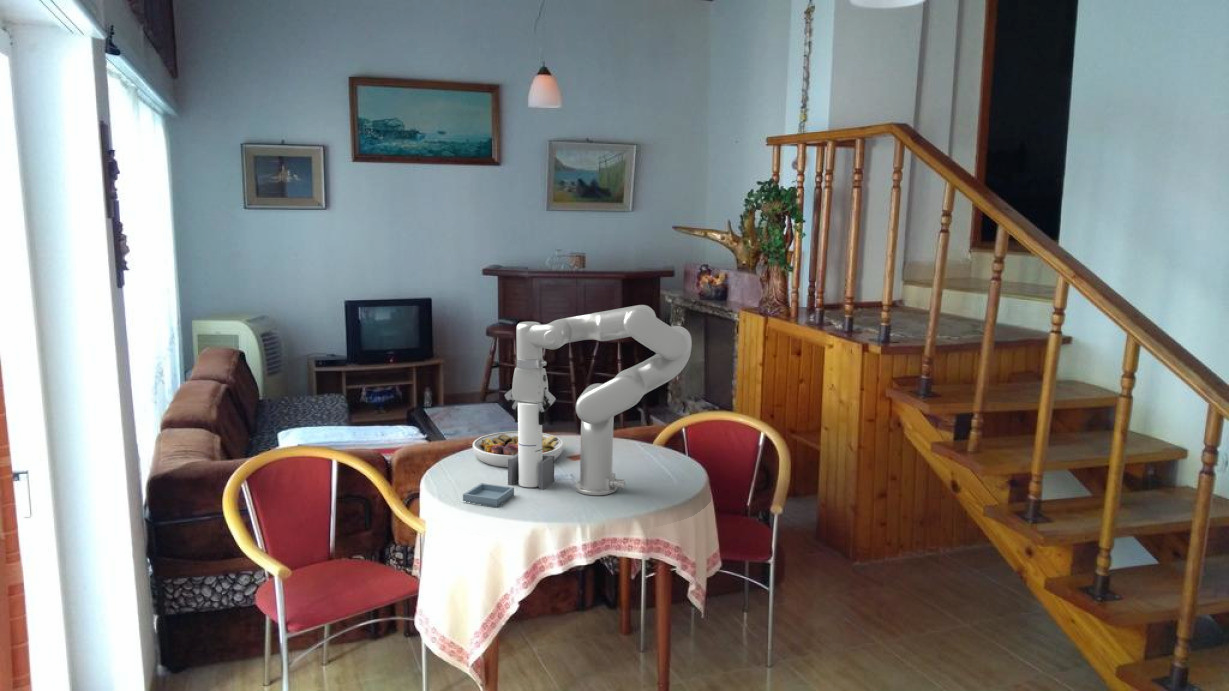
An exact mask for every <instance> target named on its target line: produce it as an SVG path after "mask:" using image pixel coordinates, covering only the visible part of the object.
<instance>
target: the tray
mask: <svg viewBox="0 0 1229 691" xmlns="http://www.w3.org/2000/svg"><path fill="white" fill-rule="evenodd" d="M514 496H515V487H512V486H503V485H498V484H497V485H496V484H491V483H490V484H489V483H479V484H478V485H476V486H474V487H472V488H471V489H469V490H468V491H466V492H465V493H462V502H463V501H466V502H470V503H475V504H474V505H476V504H481V505H480V506H483V505H486V506H485V507H489V506H491V508H496V507H497V508H498V507H500V506H501V505H503V504H504V503H506V502H507V501H508V500H510V499H511V498H513V497H514ZM502 503H503V504H502Z"/></svg>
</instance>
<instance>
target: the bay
mask: <svg viewBox="0 0 1229 691" xmlns="http://www.w3.org/2000/svg"><path fill="white" fill-rule="evenodd" d="M517 482H519V466H518V453H517V454H516V455H514V456H512V457H511V458H509V459H508V467H507V486H513V485H514V484H516V483H517ZM554 482H555V460H554V456H551V455H543V454H542V461H541V462H540V463H539V486H538V490H540V491H541V490H544V489H546V488H547V487H548V486H550V485H551V484H553V483H554Z"/></svg>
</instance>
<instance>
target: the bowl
mask: <svg viewBox="0 0 1229 691" xmlns="http://www.w3.org/2000/svg"><path fill="white" fill-rule="evenodd" d="M563 450H564V441H563V440H562V439H561V438H560V437H558V436H555V435H554V434H548V433H546V432H545V433H544V432H542V454H543V455H551V456H554V461H555V460H556V459H558V457H560V456H561V454H562V453H563ZM472 451H473V454H474V455H475V457H476V458H477V459H479V460H480V461H481V462H483V463H484V464H488V465H489V466H493V467H499V468H508V459H509V458H511V457H512V456H514V455H516V454H517V453H518V430H516V431H502V432H495V433H490V434H486V435H483V436H480V437H478V438H477V439H475V440H474V441H473V442H472Z"/></svg>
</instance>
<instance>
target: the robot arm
mask: <svg viewBox="0 0 1229 691" xmlns="http://www.w3.org/2000/svg"><path fill="white" fill-rule="evenodd" d="M515 333H516V367H515V368H514V372H513V377H512V385H511V386H512V388H511V389H509V390H508V391H506V393H505V394H504V397H505V399H506V401H508V404H509V405H510V406H511V409H513V419H514V422H515V423H517V424H518V402H529V403H537V404H538V406H539V408H540V412H539V425H542V426H543V425H544V424H546V422H547V411H548V409H550V407H551V406H552V405H553V404H554V403H555V401H556V400H557V399H556V397H555V396H554V395H553V394H552V393H551V392H550V391H549V382H548V376H547V371H546V368H543V367H545V366H547V363H548V362H547V360H544V358H543V349H548V350H557V349H559V348H561V347H562V346H564V345H565V344H568V343H575V342H579V341H587V340H596V341H599V342H607V341H612V340H614V341H615V340H619V339H625V338H629V337H630V338H633V339H634V340H635V341H637V342H638V343H640V344H641V345H643V346H644V347H646V349H647V348H648V349H649V350H650V351H653V352H654V353H655V354H654V355H653V356H651V357H649V358H647V359H645V360H644V361H642V362H639V363H638V364H635V365H633V366H631V367H629V368H627V369H624V370H622V371H620V372H618V373H617V374H616V375H615V377H614V378H611V379H610V380H608V381H606V382H604V383H593V384H590V385H589V386H587V387H586V388H585V389H584V390H583V392H582V393H581V394H580V395H579V397H578V398H577V400H576V403H575V413H576V414H577V417H578V419H580V420H581V421H580V452H579V453H580V458H579V459H580V463H579V464H580V465H579V471H580V472H579V473H580V474H579V476H580V477H579V481H577V482H575V484H574V489H575V491H576V492H578V493H579V494H583V495H587V496H605V495H606V496H607V495H610V494H612V493H615V492H616V491H617V490H618V488H621V489H624V488H626V487H625V486H626V482H625V479H624V478H617V477H616V473H614V472H613V453H614V452H613V451H614V450H613V448H614V447H613V446H614V445H613V443H614V418H615V416H617V415H619V414H621V413H623V412H625V411H627V410H629V409H631V408H632V407H634V406H635V405H637V404H638V403H639V402H640V401H641V399H642V398H643V397H644V395H646V394H648V393H649V392H651V391H653V390H655V389H657V388H659V387H660V386H663V385H665V384H666V383H668V382H669V381H672V380H673V379H675V378H676V377H677V376H678V375H679V374H680V373H681V372H682V371H683V369H684V368H685V367H686V366H687V363H688V361H689V360H690V359H689V358H690V357H691V352H692V344H693V343H692V335H691V334H690V332H689V330H688V329H686V327H683V326H680V325H673V326H670V325H669V324H667V323H666V322H664V321H662V320H661V319H660V318H658V317H657V315H656V312H655V310H654V309H652V307H650V306H649V305H646V304H638V305H632V306H627V307H626V306H625V307H622V308H615V309H610V310H605V311H599V312H597V311H596V312H592V313H588V314H583V315H576V316H570V317H565V318H560V319H556V320H553V321H551V322H549V323H546V324H545V323H544V324H541V323H540V322H538V321H520V322H519V323H517V325H516V332H515ZM547 400H548V401H547ZM546 401H547V403H546Z"/></svg>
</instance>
